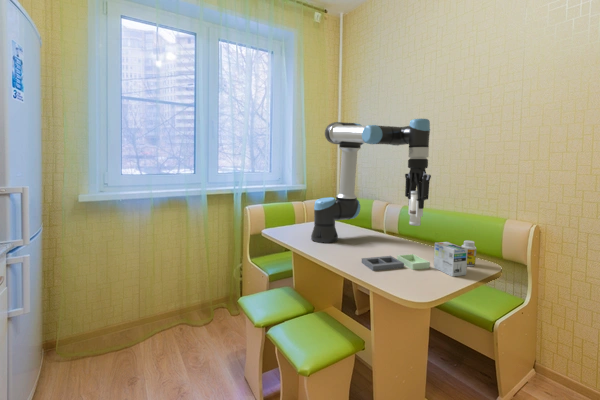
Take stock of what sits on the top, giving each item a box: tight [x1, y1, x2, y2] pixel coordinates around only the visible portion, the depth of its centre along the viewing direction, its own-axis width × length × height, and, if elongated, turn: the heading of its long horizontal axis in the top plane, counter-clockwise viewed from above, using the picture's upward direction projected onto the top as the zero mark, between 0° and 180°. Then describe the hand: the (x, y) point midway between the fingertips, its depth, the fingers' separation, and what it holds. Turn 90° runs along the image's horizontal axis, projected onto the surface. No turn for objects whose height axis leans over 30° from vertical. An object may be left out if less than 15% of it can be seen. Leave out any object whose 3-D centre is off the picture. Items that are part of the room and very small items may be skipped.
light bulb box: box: [433, 241, 468, 277], centre depth 118 cm, size 11×7×11 cm, turn 17°
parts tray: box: [396, 253, 431, 271], centre depth 125 cm, size 11×8×3 cm
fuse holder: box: [361, 255, 405, 272], centre depth 124 cm, size 10×14×2 cm
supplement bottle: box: [461, 239, 477, 267], centre depth 125 cm, size 6×6×10 cm
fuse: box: [408, 190, 422, 227], centre depth 122 cm, size 4×4×14 cm
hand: (415, 215), depth 122 cm, fingers closed on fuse, 4 cm apart
